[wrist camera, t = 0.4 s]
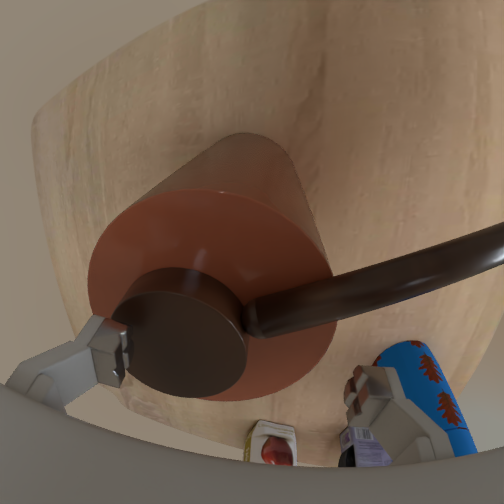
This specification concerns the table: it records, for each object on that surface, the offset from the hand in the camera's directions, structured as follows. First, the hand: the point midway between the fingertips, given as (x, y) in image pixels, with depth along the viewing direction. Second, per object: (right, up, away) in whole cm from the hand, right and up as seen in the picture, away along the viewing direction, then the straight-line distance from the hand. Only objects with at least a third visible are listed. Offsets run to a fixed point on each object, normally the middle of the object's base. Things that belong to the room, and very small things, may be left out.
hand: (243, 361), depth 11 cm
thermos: (+24, -14, +35) cm, 45 cm away
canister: (0, +11, +24) cm, 26 cm away
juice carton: (+4, -29, +43) cm, 53 cm away
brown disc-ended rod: (+5, +3, +1) cm, 6 cm away
